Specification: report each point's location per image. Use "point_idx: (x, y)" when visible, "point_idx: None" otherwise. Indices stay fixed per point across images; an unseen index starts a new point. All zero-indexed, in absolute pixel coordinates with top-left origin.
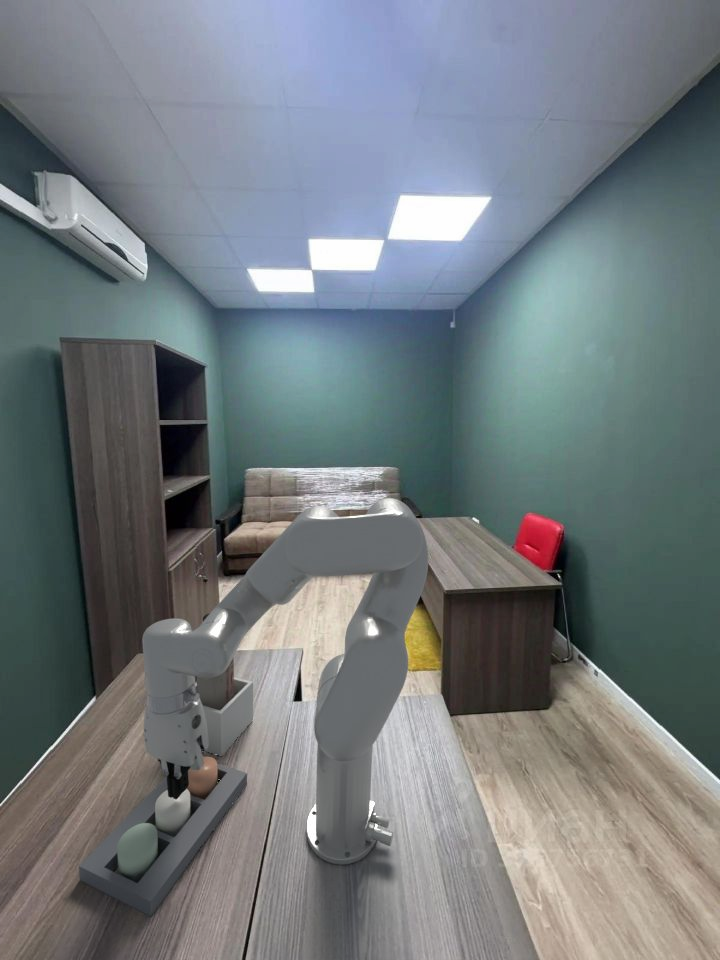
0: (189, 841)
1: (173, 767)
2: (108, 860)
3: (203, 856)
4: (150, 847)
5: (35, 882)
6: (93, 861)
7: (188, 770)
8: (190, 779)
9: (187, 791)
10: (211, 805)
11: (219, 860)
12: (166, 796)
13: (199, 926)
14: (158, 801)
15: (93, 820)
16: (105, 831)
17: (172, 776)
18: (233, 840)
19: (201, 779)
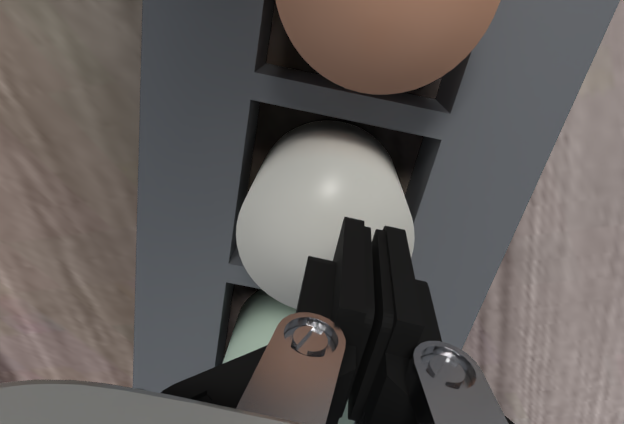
0: (458, 303)
1: (329, 417)
2: None
3: None
4: (352, 421)
5: (44, 374)
6: (163, 386)
7: (297, 19)
8: (348, 86)
9: (378, 183)
10: (498, 139)
11: (561, 272)
12: (275, 226)
13: (547, 415)
14: (252, 256)
15: (6, 200)
16: (89, 232)
17: (343, 406)
18: (602, 201)
19: (427, 81)
